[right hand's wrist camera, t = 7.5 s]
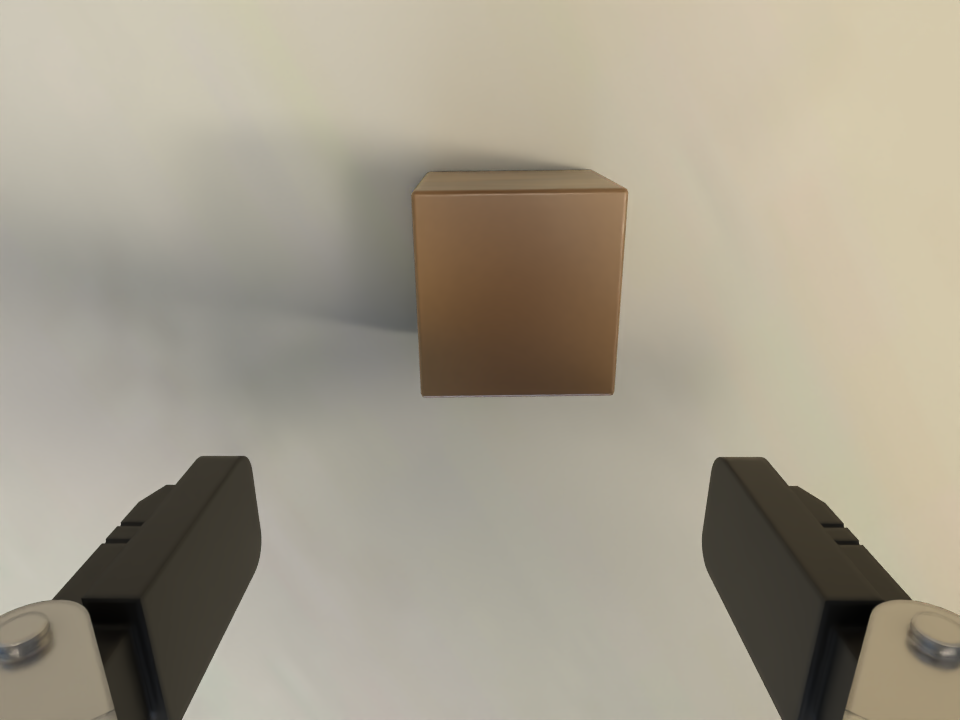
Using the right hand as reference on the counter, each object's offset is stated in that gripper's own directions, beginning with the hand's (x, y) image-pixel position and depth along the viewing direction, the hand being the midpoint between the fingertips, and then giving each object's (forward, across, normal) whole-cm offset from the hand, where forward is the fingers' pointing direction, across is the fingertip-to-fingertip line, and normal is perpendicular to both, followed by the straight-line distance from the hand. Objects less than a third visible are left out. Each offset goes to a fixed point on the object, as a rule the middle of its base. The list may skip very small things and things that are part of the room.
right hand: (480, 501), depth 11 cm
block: (+8, -1, -3) cm, 8 cm away
